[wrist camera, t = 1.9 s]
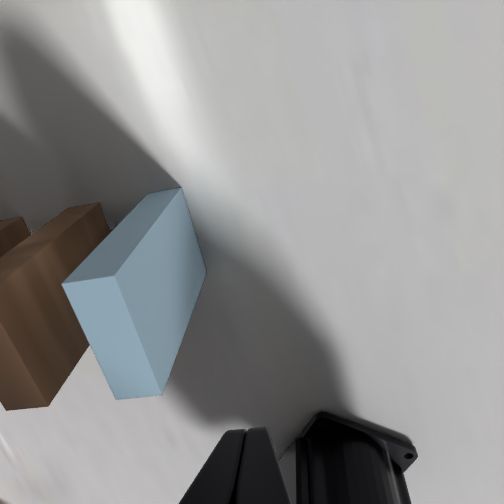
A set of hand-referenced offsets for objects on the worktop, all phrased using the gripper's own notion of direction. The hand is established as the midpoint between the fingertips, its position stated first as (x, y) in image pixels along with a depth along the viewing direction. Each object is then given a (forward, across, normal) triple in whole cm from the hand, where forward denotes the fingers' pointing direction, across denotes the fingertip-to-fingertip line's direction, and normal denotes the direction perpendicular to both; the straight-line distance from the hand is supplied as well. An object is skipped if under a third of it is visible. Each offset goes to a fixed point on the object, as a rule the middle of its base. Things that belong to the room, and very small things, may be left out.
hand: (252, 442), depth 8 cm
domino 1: (+12, +9, 0) cm, 15 cm away
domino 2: (+12, +4, 0) cm, 13 cm away
